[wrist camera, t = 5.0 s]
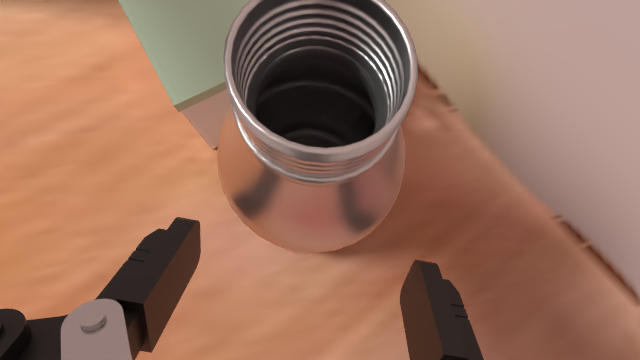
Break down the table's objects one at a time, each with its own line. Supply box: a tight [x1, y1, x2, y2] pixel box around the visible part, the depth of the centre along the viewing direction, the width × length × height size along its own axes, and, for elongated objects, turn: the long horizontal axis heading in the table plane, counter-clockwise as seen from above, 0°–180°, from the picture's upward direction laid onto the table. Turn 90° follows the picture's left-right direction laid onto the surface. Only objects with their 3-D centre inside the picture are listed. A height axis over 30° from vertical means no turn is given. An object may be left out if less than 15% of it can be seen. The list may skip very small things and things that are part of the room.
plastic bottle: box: [217, 0, 418, 254], centre depth 16 cm, size 6×7×20 cm
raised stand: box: [118, 0, 249, 149], centre depth 24 cm, size 12×13×8 cm
